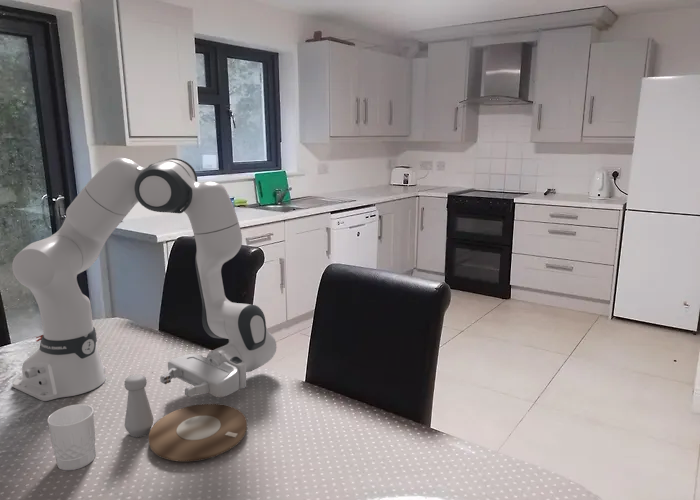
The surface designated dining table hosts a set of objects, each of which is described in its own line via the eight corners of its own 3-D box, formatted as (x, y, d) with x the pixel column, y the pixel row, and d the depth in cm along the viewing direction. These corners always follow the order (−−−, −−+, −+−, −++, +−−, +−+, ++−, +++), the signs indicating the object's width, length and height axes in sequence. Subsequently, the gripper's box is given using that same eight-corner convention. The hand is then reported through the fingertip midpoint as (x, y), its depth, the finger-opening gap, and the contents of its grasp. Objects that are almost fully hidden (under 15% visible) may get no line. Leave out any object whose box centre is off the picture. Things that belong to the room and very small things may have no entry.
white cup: (52, 477, 95) (46, 430, 93) (54, 454, 102) (48, 409, 99) (99, 465, 98) (94, 419, 96) (98, 444, 105) (93, 400, 103)
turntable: (127, 449, 102) (126, 443, 102) (188, 401, 120) (188, 396, 120) (212, 470, 96) (212, 465, 95) (263, 416, 114) (263, 411, 114)
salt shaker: (144, 441, 106) (138, 384, 103) (119, 438, 107) (113, 382, 104) (159, 426, 112) (155, 372, 109) (136, 423, 113) (131, 369, 110)
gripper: (195, 343, 131) (147, 361, 121) (249, 364, 119) (201, 387, 109) (197, 365, 133) (149, 385, 122) (250, 389, 121) (202, 413, 110)
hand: (174, 386), depth 115 cm, fingers open, 8 cm apart
